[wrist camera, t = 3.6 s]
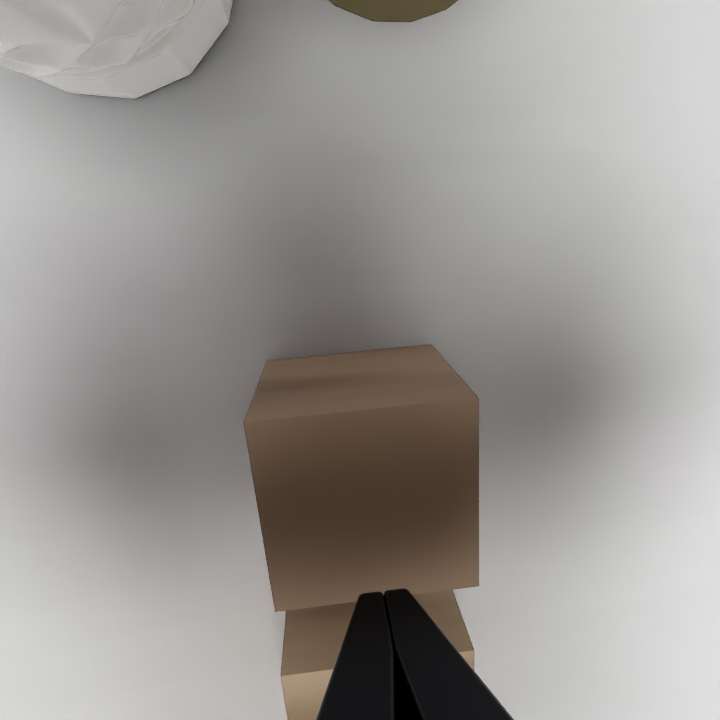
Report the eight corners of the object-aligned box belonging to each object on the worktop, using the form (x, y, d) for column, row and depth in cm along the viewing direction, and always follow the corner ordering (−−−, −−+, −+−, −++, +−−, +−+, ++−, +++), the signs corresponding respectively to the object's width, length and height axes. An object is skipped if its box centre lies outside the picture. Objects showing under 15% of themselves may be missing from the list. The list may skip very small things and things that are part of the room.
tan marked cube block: (440, 646, 18) (480, 787, 13) (305, 664, 17) (301, 814, 13) (437, 536, 16) (481, 654, 12) (290, 554, 16) (280, 681, 12)
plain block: (435, 485, 16) (478, 586, 11) (287, 502, 15) (275, 611, 11) (430, 343, 14) (478, 397, 10) (267, 359, 14) (243, 422, 10)
